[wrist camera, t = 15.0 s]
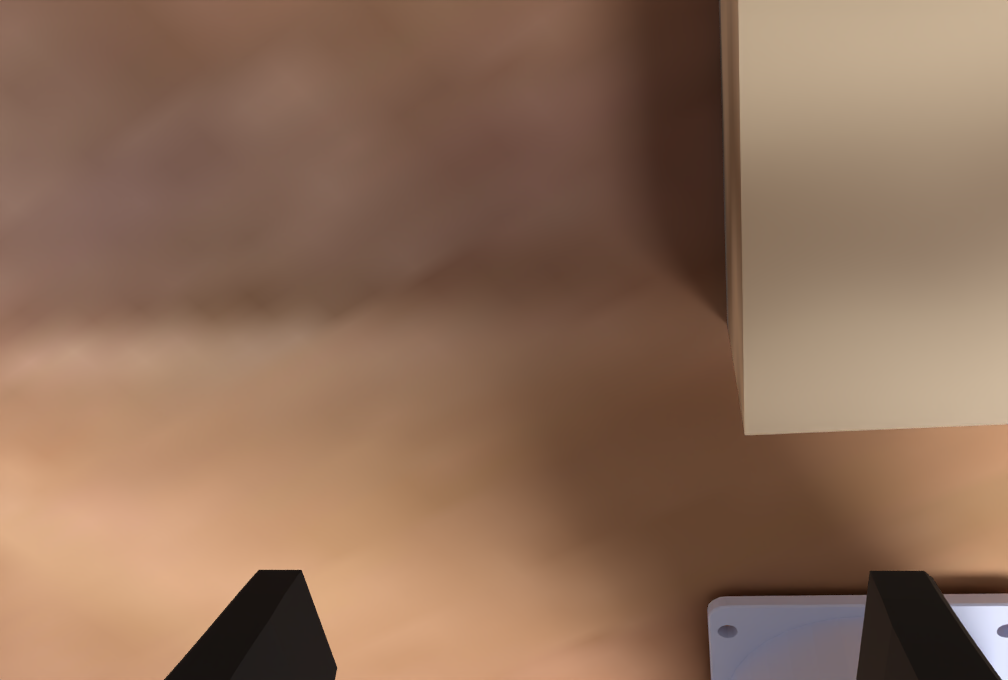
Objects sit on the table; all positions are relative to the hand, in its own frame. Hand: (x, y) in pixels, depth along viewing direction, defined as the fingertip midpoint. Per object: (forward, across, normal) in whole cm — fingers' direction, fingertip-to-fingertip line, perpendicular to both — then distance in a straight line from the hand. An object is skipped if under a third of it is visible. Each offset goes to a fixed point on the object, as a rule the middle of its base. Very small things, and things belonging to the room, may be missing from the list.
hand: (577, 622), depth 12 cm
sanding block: (+10, -5, -2) cm, 11 cm away
